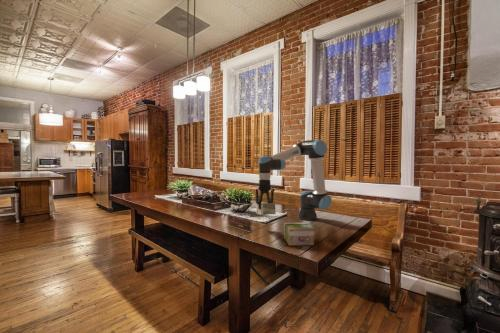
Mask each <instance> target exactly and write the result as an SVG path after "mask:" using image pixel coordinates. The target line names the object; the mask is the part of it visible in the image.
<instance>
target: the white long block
mask: <svg viewBox="0 0 500 333" xmlns="http://www.w3.org/2000/svg"><path fill="white" fill-rule="evenodd" d="M261 205H262V215H276V202H273V203H268V202H263V203H262V202H261ZM255 206H256V215H261V214H260V210H259V205H258V204H257V203H255Z"/></svg>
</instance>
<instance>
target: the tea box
mask: <svg viewBox="0 0 500 333" xmlns="http://www.w3.org/2000/svg"><path fill="white" fill-rule="evenodd" d="M283 238H284V240H285V242H286V243H287V245H288V247H290V246H291V247H293V246H294V247H296V246H314V245H315V229H314V228H313V226H311V224H309V223H308V222H284V223H283Z"/></svg>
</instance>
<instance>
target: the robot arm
mask: <svg viewBox="0 0 500 333" xmlns="http://www.w3.org/2000/svg"><path fill="white" fill-rule="evenodd" d="M327 151H328V146H327V143H326V142H325V141H324V140H323V139H311V140H309V139H308V140H303V141H301V142H298V143H296V144H294V145H292V147H289V148H287V149H285V150H283V151H280V152H278V153H275V154H273V155H271V156H270V155H262V156H259V159H258V162H257V166H258V170H259V172H258V179H259V180H258V187H256V188H254V192H255V204H258V205H259V210H260V214H259V215H261V216H262V215H263V214H262V205H261V204H262V202H263V198H264V194H265V195H266V203H274V195H275V191H276V190H275V188H272V186H271V171H283V170H284V169H285V168H286V161H289V160H290V159H291V160H292V159H293V158H295V157H297V158H298V157H301V156H308V159H309V160H310V164H311V173H312V174H311V175H312V184H313V190H302V191H301V192H300V209H299V212H298V216H297V219H298V220H299V219H300V220H303V221H316V220H317V219H318V215H317V212H316V209H319V210H322V211H323V210H324V211H325V210H328V209H329V208H330V206H331V205H332V201H333V200H332V196H331V195H329V194H328V193H329V191H328V190H327V189H326V180H325V171H324V170H325V169H324V161H323V159H325V155H326V154H327ZM259 192H260V193H259Z"/></svg>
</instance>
